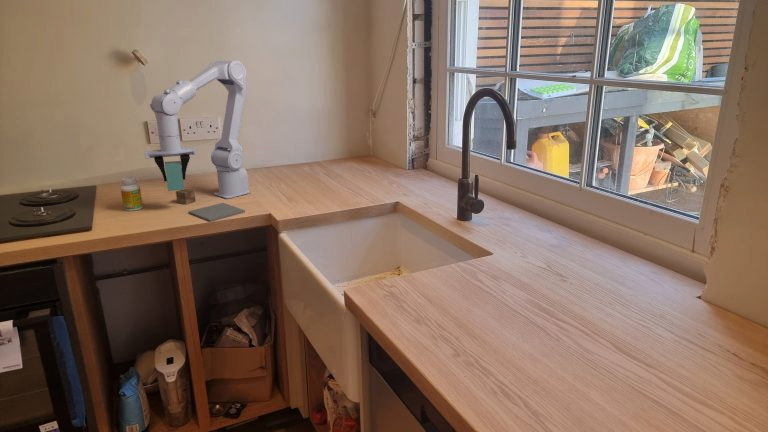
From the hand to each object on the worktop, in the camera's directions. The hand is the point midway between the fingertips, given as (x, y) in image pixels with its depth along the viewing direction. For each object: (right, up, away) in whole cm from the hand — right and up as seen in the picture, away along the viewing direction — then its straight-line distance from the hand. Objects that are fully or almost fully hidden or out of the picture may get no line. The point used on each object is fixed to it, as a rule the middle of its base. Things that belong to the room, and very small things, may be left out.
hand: (174, 179), depth 159 cm
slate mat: (+13, -10, 0) cm, 16 cm away
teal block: (0, -3, +1) cm, 3 cm away
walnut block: (0, -7, +10) cm, 12 cm away
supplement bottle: (-14, -9, +3) cm, 17 cm away
